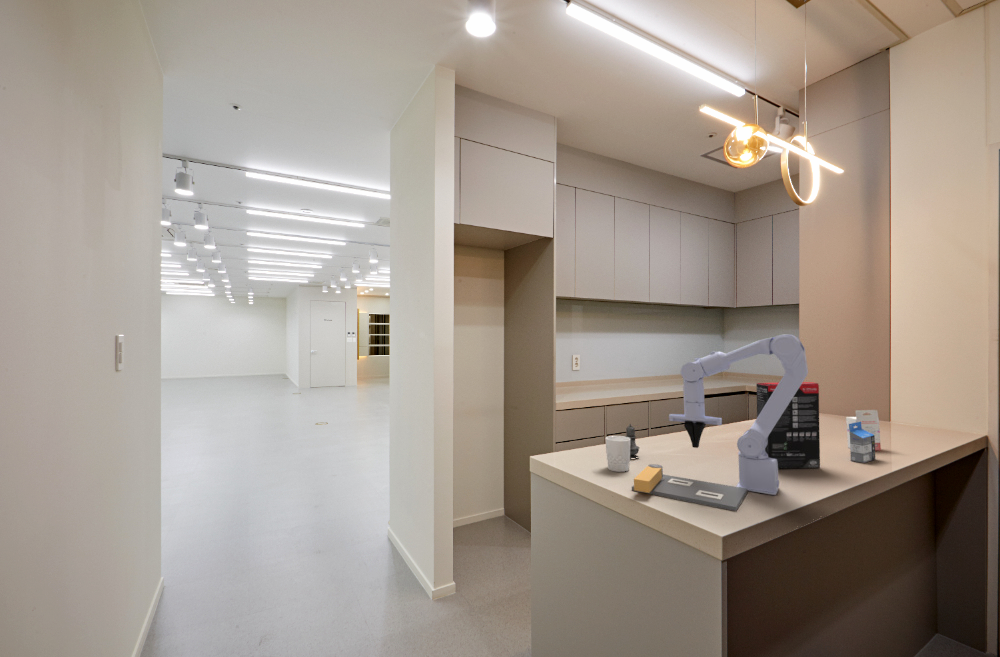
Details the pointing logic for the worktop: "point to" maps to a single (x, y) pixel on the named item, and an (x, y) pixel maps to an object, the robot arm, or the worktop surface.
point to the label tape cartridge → (861, 444)
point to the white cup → (618, 453)
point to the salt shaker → (632, 441)
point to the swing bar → (648, 478)
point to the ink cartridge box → (866, 425)
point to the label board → (699, 492)
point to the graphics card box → (794, 427)
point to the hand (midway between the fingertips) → (695, 447)
